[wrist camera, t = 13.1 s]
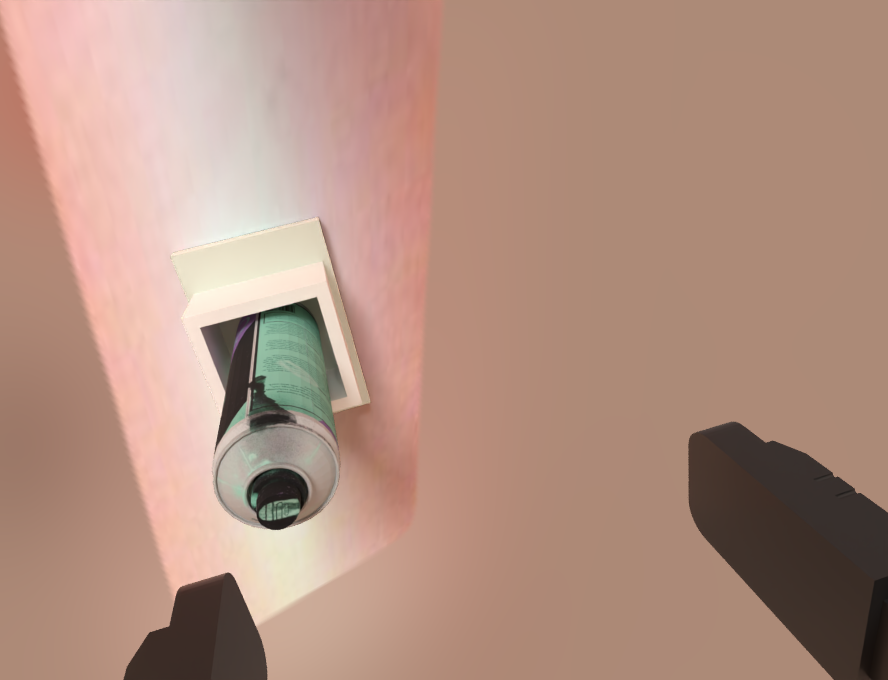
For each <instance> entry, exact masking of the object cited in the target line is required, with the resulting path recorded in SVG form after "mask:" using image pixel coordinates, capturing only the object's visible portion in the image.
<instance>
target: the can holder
mask: <svg viewBox="0 0 888 680" xmlns="http://www.w3.org/2000/svg"><path fill="white" fill-rule="evenodd" d="M171 260H172V262H173V265H174V267H175V270H176V272H177V275H178V277H179V280H180V283H181V285H182V288H183V290H184V293H185V295H186V298H187V300H188V303H189V304H188V306H187V308H186V310H185V312H184V314H183V316H182V318H181V320H182V323H183V325H184V328H185V330H186V333H187V335H188V338H189V340H190V343H191V345H192V347H193V350H194V352H195V355H196V357H197V360H198V362H199V365H200V367H201V370H202V372H203V375H204V377H205V380H206V382H207V384H208V387H209V389H210V392H211V394H212V397H213V399H214V402H215V404H216V407H217V409H218V412H219V414H220V416H221V414H222V409H223V403H224V398H225V392H226V387H227V381H228V376H229V370H230V365H231V359H232V354H233V348H234V343H235V337H236V332H237V327H238V324H239V321H240V319H241V317H243V316H247V315H250V314H254V313H258V312H262V311H265V310H269V309H273V308H277V307H281V306H284V305H288V304H292V303H296V302H299V303H301V304H303V305H304V306H305V307H307V308H308V309H309V311H310V312H311V313H312V314H313V316H314V318H315V319H316V322H317V325H318V328H319V333H320V339H321V345H322V351H323V357H324V363H325V369H326V375H327V381H328V387H329V393H330V399H331V406H332V412H333V413H337V412H340V411H344V410H347V409H351V408H354V407H358V406H361V405H364V404H368V403H371V401H370V397H369V393H368V390H367V386H366V383H365V379H364V376H363V372H362V369H361V365H360V362H359V358H358V355H357V351H356V348H355V344H354V341H353V337H352V334H351V330H350V327H349V323H348V320H347V316H346V313H345V309H344V306H343V302H342V299H341V295H340V292H339V288H338V285H337V281H336V278H335V274H334V271H333V267H332V264H331V260H330V257H329V253H328V250H327V246H326V243H325V239H324V236H323V232H322V229H321V225H320V222H319V218H318V217H316V218H312V219H307V220H303V221H299V222H295V223H291V224H287V225H283V226H279V227H275V228H271V229H267V230H263V231H259V232H255V233H251V234H247V235H242V236H238V237H234V238H230V239H226V240H222V241H218V242H214V243H210V244H206V245H202V246H198V247H194V248H190V249H186V250H182V251H178V252H174V253H173V254H172V255H171Z"/></svg>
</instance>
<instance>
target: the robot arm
mask: <svg viewBox="0 0 888 680" xmlns="http://www.w3.org/2000/svg"><path fill="white" fill-rule="evenodd" d="M689 506H690V510H691V514H692V517H693V519H694V521H695V523H696V525H697V527H698V529H699V531H700V532H701V533H702V535H703V536H704V537H705V538H706V540H707V541H708V542H709V543H710V544H711V545H712V546H713V547H714V548H715V550H716V551H717V552H718V553H719V554H720V555H721V556H722V557H723V558H724V559H725V560H726V562H727V563H728V564H729V565H730V566H731V567H732V568H733V569H734V570H735V572H736V573H737V574H738V575H739V576H740V577H741V578H742V579H743V580H744V581H745V583H746V584H747V585H748V586H749V587H750V588H751V589H752V590H753V591H754V592H755V593H756V595H757V596H758V597H759V598H760V599H761V600H762V601H763V602H764V603H765V604H766V606H767V607H768V608H769V609H770V610H771V611H772V612H773V613H774V614H775V615H776V617H777V618H778V619H779V620H780V621H781V622H782V623H783V624H784V625H785V626H786V628H787V629H788V630H789V631H790V632H791V633H792V634H793V635H794V636H795V637H796V639H797V640H798V641H799V642H800V643H801V644H802V645H803V646H804V647H805V648H806V650H807V651H808V652H809V653H810V654H811V655H812V656H813V657H814V658H815V659H816V660H817V661H818V663H819V664H820V665H821V666H822V667H823V668H824V669H825V670H826V671H827V673H828V674H829V675H830V676H831V677H832V678H833V679H834V680H888V513H887V512H886V511H885V510H883V509H882V508H881V507H879V506H878V505H877V504H875V503H874V502H872V501H871V500H870V499H868V498H867V497H865V496H864V495H863V494H861V493H858V494H857V493H856V492H855V489H854V488H853V487H852V486H850V485H849V484H847V483H846V482H845V481H843V480H842V479H840V478H839V477H834V476H833V473H832V472H831V471H829V470H828V469H827V468H825V467H824V466H822V465H821V464H820V463H818V462H817V461H816V460H814V459H813V458H811V457H810V456H809V455H807V454H806V453H803V452H801V451H798V450H795V449H793V448H791V447H788V446H785V445H783V444H780V443H778V442H775V441H770V442H767V443H765V442H764V441H763V440H761V439H760V438H759V437H757V436H756V435H755V434H753V433H752V432H751V431H749V430H748V429H747V428H746V427H744V426H743V425H741V424H740V423H737V422H729V423H726V424H722V425H719V426H716V427H712V428H709V429H706V430H703V431H699V432H696V433H694V434H692V435H691V436H690V439H689ZM124 680H267V665H266V658H265V652H264V648H263V644H262V641H261V638H260V635H259V633H258V630H257V628H256V626H255V624H254V621H253V619H252V617H251V614H250V612H249V610H248V608H247V605H246V603H245V601H244V599H243V596H242V594H241V592H240V589H239V587H238V585H237V583H236V580H235V578H234V577H233V575H232V574H231V573H225V574H221V575H218V576H215V577H211V578H208V579H205V580H201V581H198V582H195V583H191V584H188V585H185V586H182V587H180V588H179V589H178V591H177V594H176V598H175V603H174V607H173V612H172V617H171V621H170V626H169V627H166V628H163V629H159V630H156V631H153V632H150V633H149V634H148V635H147V637H146V638H145V640H144V642H143V643H142V645H141V646H140V648H139V649H138V651H137V652H136V654H135V656H134V657H133V658H132V660H131V662H130V663H129V665H128V666H127V669H126V673H125V676H124Z"/></svg>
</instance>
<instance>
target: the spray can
mask: <svg viewBox="0 0 888 680" xmlns="http://www.w3.org/2000/svg"><path fill="white" fill-rule="evenodd" d="M339 471H340V454H339V448H338V442H337V436H336V430H335V424H334V418H333V412H332V406H331V399H330V393H329V387H328V381H327V375H326V369H325V363H324V357H323V351H322V345H321V339H320V333H319V328H318V325H317V322H316V319H315V318H314V316H313V314H312V313H311V312H310V311H309V309H308V308H307V307H305V306H304V305H303V304H301V303H299V302H296V303H292V304H288V305H284V306H281V307H277V308H273V309H269V310H265V311H262V312H258V313H254V314H250V315H247V316H243V317H241V319H240V321H239V324H238V327H237V332H236V337H235V343H234V348H233V354H232V359H231V365H230V370H229V376H228V381H227V387H226V392H225V398H224V403H223V409H222V414H221V420H220V425H219V431H218V436H217V442H216V447H215V453H214V458H213V467H212V474H213V485H214V492H215V494H216V497H217V499H218V501H219V503H220V504H221V506H222V507H223V508H224V510H225V511H226V512H228V513H229V514H230V515H231V516H232V517H233V518H235V519H237V520H239V521H240V522H242V523H244V524H247V525H250V526H253V527H258V528H264V529H272V530H280V529H284V528H287V527H291V526H295V525H298V524H301V523H303V522H305V521H307V520H309V519H311V518H312V517H314V516H315V515H317V514H318V513H319V512H321V511H322V510H323V509H324V508H325V507H326V506H327V505H328V503H329V502H330V500H331V499H332V497H333V496H334V494H335V491H336V489H337V486H338V482H339V476H340V475H339Z"/></svg>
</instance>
